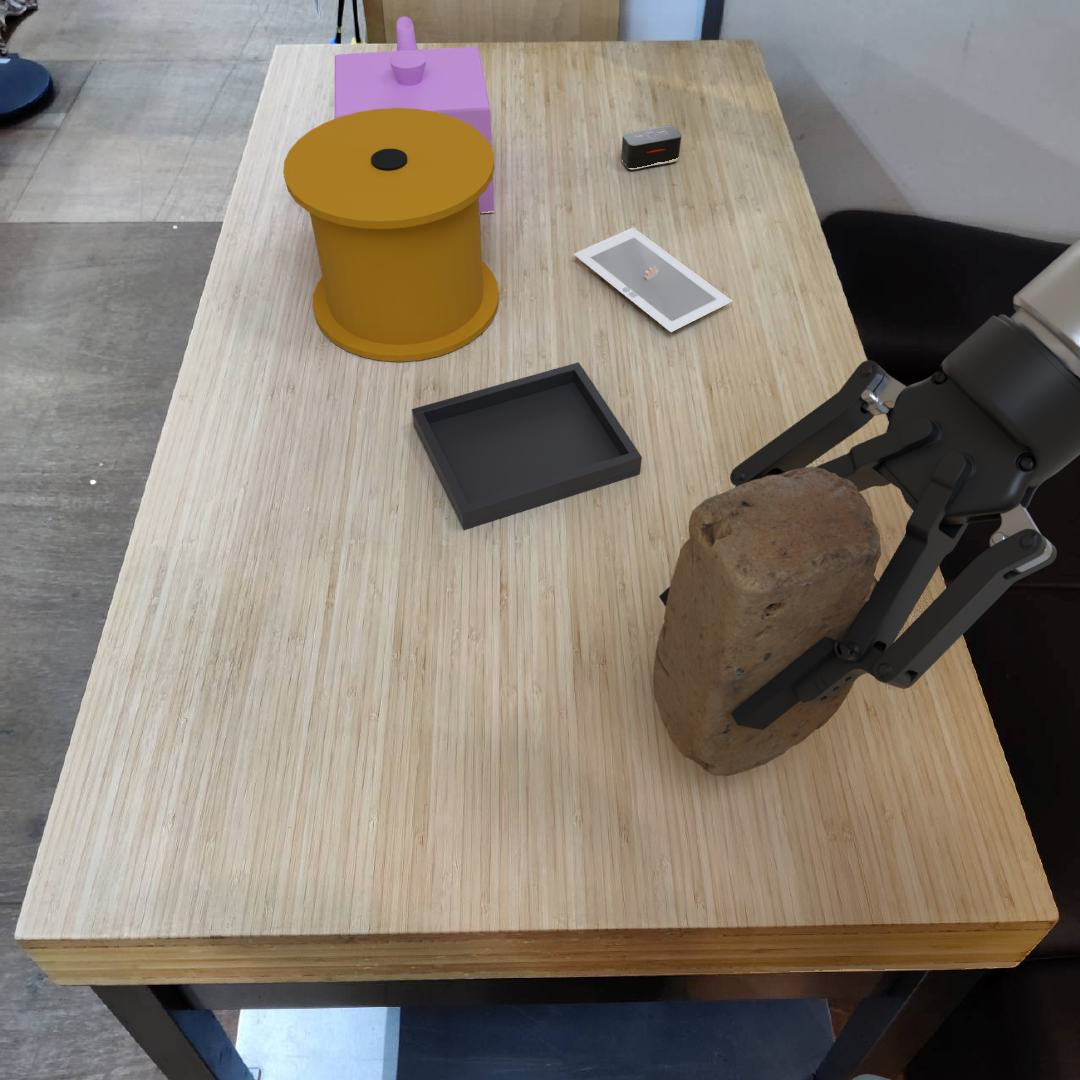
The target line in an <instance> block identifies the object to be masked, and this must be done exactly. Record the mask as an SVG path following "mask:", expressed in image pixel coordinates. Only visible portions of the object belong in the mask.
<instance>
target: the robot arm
mask: <svg viewBox="0 0 1080 1080" xmlns="http://www.w3.org/2000/svg"><path fill="white" fill-rule="evenodd" d="M1012 301H1013V302H1012V303H1013V309H1014V311H1015V312H1014V313H1013V314H1012V315H1011V316H1008V315H1006V314H999V315H998V316H996V315H991V316H990V317H989V318H988V319H987V320H986V321H985V322H984V323H983V324H982V325H981V326H980V327H978V328H977V329H976V330H975V331H974V332H973V333H971V335H969V336H968V337H967V338H966V339H964V340H963V341H962V342H961V343H960V344H959V345H958V346H957V347H955V349H954V350H952V352H950V353H949V354H948V355H947V356H946V357H945V358H944V359H943V360H942V362H941V364H940V365H939V367H938V368H937V370H936V371H935V372H934V373H933V374H932V375H931V376H928V377H927V378H924V379H923V380H921V381H920V380H919V381H917V382H914V383H912V384H909V385H905V384H904V383H902V382H900V381H899V380H897V379H895V377H892V376H891V375H890V374H889V373H888V372H887V371H886V370H885V369H884V368H882V367H881V366H880V365H879V364H878V363H877V362H876V361H875V360H872V359H867V360H864V361H862V362H861V363H860V364H859V365H858V366H857V367H856V368H855V370H854V371H853V372H852V374H851V375H850V377H849V378H848V379H847V380H846V381H845V383H844V384H843V385H842V386H841V388H840V389H839V391H838V392H837V393H835V394H834V395H832V396H831V397H830V398H828V399H827V400H825V401H824V402H823V403H822V404H820V405H819V406H817V407H816V408H814V409H813V410H812V411H810V412H809V413H808V414H806V415H805V416H804V417H801V418H800V419H799V420H798V421H797V422H795V423H794V424H792V425H791V426H790V427H789V428H787V429H786V430H785V431H783V432H782V433H780V434H779V435H777V436H776V437H775V438H773V439H772V440H771V441H769V442H768V443H766V444H765V445H764V446H763V447H761V448H760V449H758V450H757V451H756V452H754V453H753V454H751V455H750V456H748V457H747V458H746V459H744V460H743V461H742V462H741V463H739V464H738V465H736V466H735V467H734V468H733V469H732V470H731V472H730V474H729V477H730V478H729V480H730V483H731V484H732V485H733V486H734V487H737V486H739V485H741V484H744V483H747V482H750V481H752V480H756V479H761V478H763V477H766V476H771V475H779V474H782V473H785V472H788V471H791V470H795V469H799V468H805V467H809V465H811V464H812V463H813V462H816V461H817V460H818V459H820V457H822V456H823V455H825V454H826V453H828V452H829V451H830V450H833V448H835V447H836V446H838V445H839V444H841V443H842V442H844V441H845V440H847V439H848V438H849V437H850V436H852V435H854V434H855V433H856V432H858V431H859V430H860V429H862V428H863V427H864V426H866V425H867V424H869V422H870V421H871V420H872V419H873V418H874V417H875V416H881V415H887V413H888V412H889V411H890V409H892V411H891V414H890V418H889V420H888V424H887V426H886V427H887V428H886V431H885V432H883V433H882V434H879V435H876V436H874V437H872V438H870V439H867V440H864V441H863V442H860V443H858V444H855V445H853V446H852V447H851V448H850V449H849V451H848V453H845V454H842V455H840V456H838V457H836V458H833V459H831V460H829V461H826V462H824V463H821V464H819V465H817V466H815V467H816V468H821V469H825V470H827V471H828V472H830V473H835V474H836V475H838V476H839V477H841V478H844V479H847V480H850V481H851V482H852V483H853V484H854V485H855V486H856V487H857V492H859V493H860V492H863V491H866V490H868V489H870V488H874V487H885V486H888V485H893V486H894V487H896V488H897V489H898V490H900V492H901V495H902V497H903V499H904V502H905V503H906V505H908V506H909V508H910V509H911V510H912V513H911V515H910V516H909V518H908V520H907V522H906V525H905V534H904V536H903V538H902V539H901V541H900V543H899V545H898V547H897V548H896V549H895V551H894V554H893V555H892V557H891V559H889V562H888V564H887V565H886V566H885V568H884V571H883V572H882V574H881V576H880V577H879V579H878V580H877V581H878V583H877V584H876V586H875V588H874V589H873V591H872V593H871V595H870V598H869V600H868V601H867V602H866V603H865V605H864V607H863V608H862V610H861V612H860V613H859V615H858V617H857V619H856V620H855V622H854V624H853V626H852V627H851V629H850V631H849V632H848V634H847V636H846V638H845V639H844V641H843V643H842V642H839V641H837V640H834V639H831V638H828V637H826V636H825V637H824V638H823V639H822V640H820V641H819V642H818V643H817V644H816V645H814V646H813V647H812V648H811V649H809V650H808V651H807V652H806V653H804V654H803V655H802V656H801V657H800V658H798V659H797V660H796V661H795V662H793V663H792V664H791V665H790V666H788V667H787V668H786V669H785V670H783V671H782V672H781V673H780V674H779V675H777V676H776V677H775V678H774V679H772V680H771V681H770V682H769V683H767V684H766V685H765V686H764V687H763V688H761V689H760V690H759V691H758V692H756V693H755V694H754V695H753V696H751V697H750V698H749V699H748V700H747V701H745V702H744V703H743V704H742V705H740V706H739V707H738V708H737V709H735V710H734V711H733V712H732V713H731V715H732V717H733V718H734V720H735V721H736V723H737V725H739V726H744V727H749V728H754V729H760V730H764V729H765V728H766V727H768V726H769V725H770V724H771V723H773V722H774V721H775V720H777V719H778V718H779V717H780V716H782V715H783V714H784V713H785V712H787V711H788V710H789V709H790V708H792V707H793V706H794V705H796V704H797V703H798V702H799V701H802V703H805V704H809V705H813V706H818V705H821V704H825V703H826V702H827V701H829V700H830V699H831V698H833V696H835V695H836V694H838V693H839V692H840V691H842V690H843V689H844V688H845V687H847V686H848V685H849V684H851V683H852V682H853V681H854V680H855V681H856V680H857V679H859V678H860V677H861V676H863V675H865V674H869V675H871V677H873V678H875V680H876V681H878V682H880V683H883V684H885V685H889V686H891V687H894V688H898V689H902V690H906V689H909V688H911V687H912V686H913V685H915V683H916V682H917V681H918V680H919V679H920V678H921V677H923V675H924V674H926V673H927V671H928V670H929V669H930V668H931V667H932V666H933V665H934V664H935V663H936V662H937V661H938V660H939V659H940V658H941V657H942V656H943V655H944V654H945V653H946V652H947V651H948V650H949V649H950V648H951V647H952V646H953V645H954V644H955V643H956V642H957V641H958V640H959V639H960V638H961V637H963V635H964V634H965V633H966V632H967V631H968V630H969V629H970V628H971V627H972V626H973V625H974V624H975V623H976V622H977V620H979V619H980V618H981V617H982V615H983V614H985V613H986V612H987V611H988V610H989V609H990V607H992V605H994V604H995V602H996V601H998V600H999V598H1001V597H1002V595H1003V594H1004V593H1005V592H1006V591H1007V590H1008V589H1009V588H1010V587H1011V586H1012V585H1013V584H1014V583H1016V582H1017V581H1019V580H1021V579H1023V578H1026V577H1027V576H1029V575H1031V574H1034V573H1036V572H1037V571H1039V570H1041V569H1044V568H1046V567H1047V566H1049V565H1051V564H1052V563H1053V562H1054V561H1055V560H1056V558H1057V553H1058V552H1057V549H1056V546H1055V545H1054V544H1053V543H1052V542H1051V541H1049V540H1048V539H1047V538H1046V537H1045V536H1044V535H1043V534H1042V533H1041V532H1040V530H1039V528H1038V526H1037V525H1036V523H1035V521H1034V520H1033V518H1032V517H1031V514H1030V513H1029V512H1028V510H1027V508H1028V507H1029V505H1030V504H1031V501H1032V498H1033V496H1034V494H1035V493H1036V491H1037V489H1038V488H1039V487H1040V485H1042V483H1044V482H1045V481H1047V480H1048V479H1050V478H1052V477H1053V476H1054V475H1056V474H1057V473H1059V472H1060V471H1062V470H1063V469H1064V468H1065V467H1066V466H1068V465H1069V464H1070V463H1071V462H1072V461H1074V460H1075V459H1076V458H1077V457H1079V456H1080V237H1079V238H1078V239H1077V240H1076V241H1075V242H1073V243H1072V244H1071V245H1070V246H1069V247H1068V248H1067V249H1066V250H1064V251H1063V252H1062V253H1061V254H1060V255H1059V256H1058V257H1057V258H1055V259H1054V260H1053V261H1052V262H1051V263H1050V264H1049V265H1047V266H1046V267H1045V268H1044V269H1042V271H1041V272H1039V273H1038V274H1037V275H1036V276H1035V277H1034V278H1033V279H1031V280H1030V281H1029V282H1028V283H1027V284H1026V285H1024V287H1022V288H1021V289H1020V290H1019V291H1018V292H1016V293H1015V294H1014V296H1013V297H1012ZM999 520H1001V523H1000V526H999V527H998V529H996V531H994V532H993V533H992V534H991V535H990V537H989V547H988V548H986V549H985V550H984V551H982V552H981V553H980V554H978V555H977V556H976V557H975V558H974V559H973V560H971V562H969V564H968V565H967V566H966V567H965V568H964V569H963V570H962V571H961V572H960V573H959V574H958V575H957V577H955V578H954V579H953V580H952V582H950V583H949V585H948V586H946V587H945V589H944V590H943V591H942V592H940V594H939V595H938V596H937V597H936V598H935V599H934V600H933V601H932V602H931V603H930V604H929V605H928V606H927V607H926V609H924V611H922V613H921V614H920V615H918V617H917V618H916V619H914V621H913V622H912V623H911V624H910V625H909V626H908V627H907V628H906V629H905V630H904V632H902V634H900V633H901V631H902V629H903V628H904V626H905V624H906V622H907V621H908V620H909V617H910V615H911V614H912V612H913V610H914V609H915V607H916V606H917V604H918V602H919V600H920V599H921V597H922V595H923V594H924V592H925V590H926V589H927V587H928V586H929V583H931V580H932V578H933V576H934V575H935V573H936V572H937V570H938V568H939V567H940V565H941V563H942V561H943V560H944V558H946V556H947V555H949V554H950V553H951V552H953V551H954V549H955V547H956V546H957V544H958V542H959V541H960V539H961V537H962V535H963V534H964V533H965V531H966V529H967V527H968V525H969V524H972V523H981V522H989V521H999ZM669 589H670V586H668V587H667V588H666V589H665V590H664V591H663V592H662V593H661V594H659V596H658V597H659V599H660V601H661V603H662V604H663V605H664V607H666V604H667V599H668V594H669ZM855 681H854V682H855ZM851 1080H892V1079H891V1078H888V1077H887V1078H886V1077H884V1076H881V1075H880V1076H879V1075H876V1074H871V1073H870V1074H869V1073H865V1074H859V1075H856V1076H855V1077H853V1078H852V1079H851Z"/></svg>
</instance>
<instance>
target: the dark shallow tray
mask: <svg viewBox="0 0 1080 1080" xmlns="http://www.w3.org/2000/svg"><path fill="white" fill-rule="evenodd" d="M411 414H412V415H411V416H412V422H413V428H414V430H415V432H416V434H417V436H418V438H419V440H420V442H421V444H422V447H423V448H424V450H425V452H426V455H427V457H428V460H429V461H430V463H431V465H432V467H433V469H434V472H435V473H436V475H437V477H438V480H439V482H440V484H441V486H442V488H443V491H444V492H445V494H446V497H447V499H448V501H449V503H450V505H451V506H452V509H453V511H454V513H455V515H456V517H457V519H458V521H459V523H460V525H461V527H462V529H463V530H464V531H465V530H469V529H471V528H475V527H478V526H481V525H484V524H488V523H491V522H493V521H497V520H501V519H504V518H506V517H509V516H512V515H516V514H519V513H523V512H525V511H529V510H531V509H535V508H538V507H541V506H544V505H548V504H550V503H553V502H557V501H560V500H563V499H565V498H566V499H567V498H569V497H573V496H575V495H579V494H582V493H586V492H588V491H593V490H595V489H597V488H601V487H604V486H607V485H610V484H613V483H616V482H620V481H623V480H626V479H629V478H632V477H636V476H639V475H640V474H641V468H642V459H643V457H642V455H641V454H640V451H639V450H638V449H637V447H636V446H635V444H634V442H632V441H633V440H632V439H631V437H629V435H628V434H627V432H626V431H625V429H624V427H623V426H622V425H621V423H620V421H619V420H618V418H617V417H616V415H614V412H613V411H612V409H611V408H610V406H609V405H608V403H607V402H606V401H605V399H604V398H603V396H602V395H601V393H600V391H599V390H598V389H597V387H596V386H595V384H594V383H593V381H592V380H591V378H590V377H589V374H587V372H586V371H585V369H584V368H583V366H582V365H581V363H580V362H575V363H574V362H573V363H570V364H567V365H564V366H561V367H557V368H556V367H555V368H553V369H549V370H545V371H542V372H538V373H535V374H532V375H528V376H525V377H521V378H517V379H514V380H511V381H505V382H503V383H500V384H495V385H493V386H489V387H485V388H482V389H478V390H474V391H471V392H468V393H464V394H460V395H457V396H453V397H450V398H446V399H442V400H439V401H435V402H431V403H428V404H425V405H421V406H418V407H414V408H412V409H411Z"/></svg>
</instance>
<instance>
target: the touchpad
mask: <svg viewBox="0 0 1080 1080" xmlns="http://www.w3.org/2000/svg"><path fill="white" fill-rule="evenodd" d="M573 256H575V257H576V258H577V259H578V260H579V261H581V262H582V263H584V265H586V266H587V267H588V268H589V269H590V270H592V271H593V272H595V273H596V274H597V275H598V276H600V277H601V278H602V279H604V281H605V282H607V283H609V284H610V286H612V287H613V288H615V289H616V290H617V291H619V293H621V294H622V295H623V296H625V297H626V298H627V299H629V300H630V301H631V302H632V303H634V305H636V306H637V307H638V308H640V309H641V310H642V311H643V312H645V313H646V314H647V315H649V316H650V317H651V318H652V319H654V321H656V322H657V323H658V324H659V325H661V326H662V327H664V328H665V330H667V331H668V332H670V333H673V332H674V331H677V330H679V329H681V328H683V327H685V326H687V325H689V324H690V323H693V322H694V321H697V320H698V319H700V318H703V317H704V316H707V315H709V314H711V313H712V312H715V311H717V310H719V309H721V308H723V307H724V306H727V305H729V304H730V303H732V302H734V300H732V299H731V298H730V297H728V296H727V295H726V294H724V293H723V292H721V291H720V290H719V289H717V287H714V286H713V285H712V284H710V283H709V282H707V280H705V279H704V278H702V277H701V276H700V275H698V274H697V273H695V272H694V271H693V270H691V269H690V267H687V266H686V265H685V264H683V263H682V262H681V261H679V260H678V259H677V258H675V257H674V256H672V255H671V254H670V253H669V252H667V251H666V250H664V249H663V248H662V247H660V246H659V245H658V244H656V243H655V242H654V241H652V240H651V238H650V239H649V238H648V237H647V236H645V235H644V234H643V233H642V232H640V231H639V230H637V228H635V227H631V228H628V229H626V230H624V231H622V232H619V233H617V234H614V235H613V236H610V237H608V238H606V239H603V240H602V241H599V242H597V243H595V244H592V245H590V246H587V247H585V248H582V249H581V250H579V251H576V252H574V253H573Z"/></svg>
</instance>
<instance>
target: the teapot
mask: <svg viewBox="0 0 1080 1080" xmlns="http://www.w3.org/2000/svg"><path fill="white" fill-rule="evenodd" d="M416 39H417V38H416V35H415V26H414V23H413V20H412V19H411V18H410V17H409V16H406V15H405V16H400V17H399V18H398V19H397V21H396V50H391V51H390V50H387V51H375V52H374V51H371V52H356V53H355V52H354V53H340V54H339V53H338V54H335V55H334V108H333V109H334V118H333V119H336V118H338V117H341V116H345V115H349V114H353V113H356V112H361V111H368V110H374V109H386V108H410V109H421V110H428V111H434V112H438V113H442V114H445V115H449V116H452V117H454V118H457V119H459V120H461V121H464V122H466V123H468V124H469V125H471V126H472V127H474V128H475V129H477V130H478V131H479V132H480V133H481V134H482V135H483V136H484V137H485V138H486V139H487V140H488V142H489V144H490V146H491V148H492V149H493V141H492V139H493V137H492V114H491V113H492V111H491V104H490V100H489V95H488V89H487V84H486V79H485V78H486V77H485V74H484V67H483V63H482V57H481V52H480V48H479V47H478V46H464V47H463V46H462V47H446V48H445V47H443V48H428V49H427V48H426V49H425V48H423V49H419V48H418V44H417V41H416ZM494 194H495V193H494V177H493V178H492V181H491V182H490V184H489V186H488V187H487V189H486V191H485V192H484V193H483V194H482V195H481V196H480V197H479V213H482V212H488V211H494V212H495V198H494V197H495V196H494Z"/></svg>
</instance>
